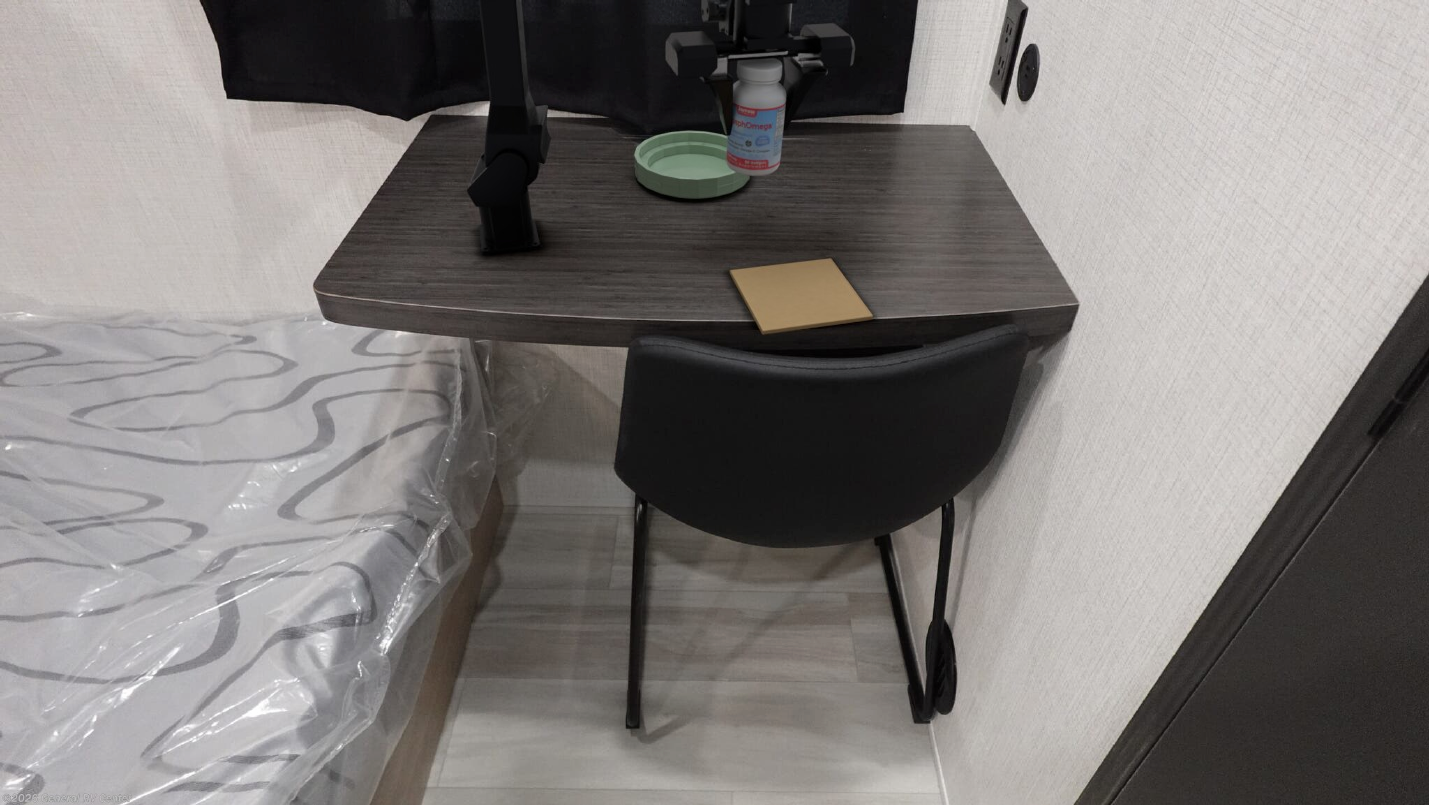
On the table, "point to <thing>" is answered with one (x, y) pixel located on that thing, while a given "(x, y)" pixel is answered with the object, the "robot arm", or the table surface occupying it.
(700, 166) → the dish
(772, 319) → the cork mat
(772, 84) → the pill bottle
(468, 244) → the table surface
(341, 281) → the table surface
